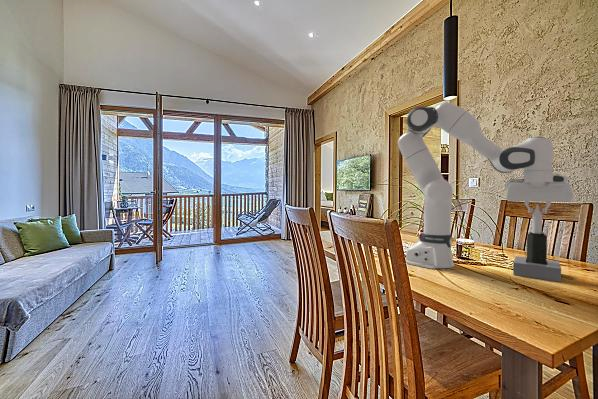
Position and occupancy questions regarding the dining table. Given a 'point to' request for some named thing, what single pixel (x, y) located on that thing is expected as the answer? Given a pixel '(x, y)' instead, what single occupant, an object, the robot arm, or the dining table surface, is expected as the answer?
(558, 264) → the holder
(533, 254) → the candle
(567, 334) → the dining table surface
